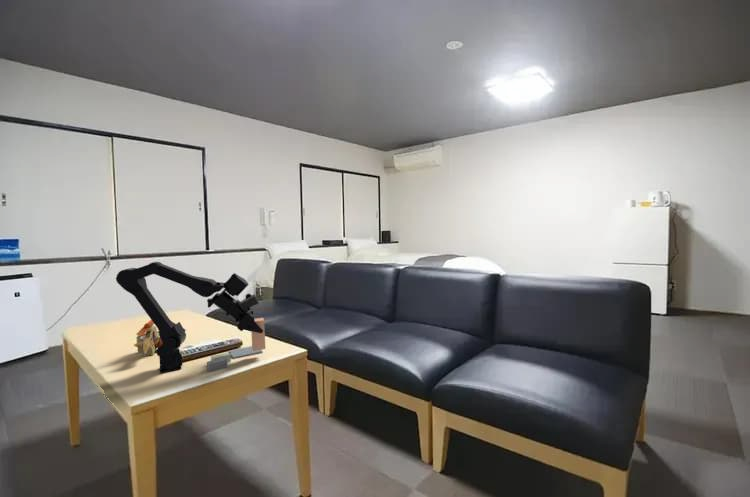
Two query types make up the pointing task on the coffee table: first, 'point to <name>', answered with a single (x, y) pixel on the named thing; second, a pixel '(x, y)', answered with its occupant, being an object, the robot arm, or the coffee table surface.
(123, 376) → the coffee table surface
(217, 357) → the sage brick
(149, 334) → the toy house
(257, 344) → the terracotta block
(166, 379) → the coffee table surface
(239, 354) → the slate pad
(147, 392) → the coffee table surface
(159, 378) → the coffee table surface
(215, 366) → the charcoal brick
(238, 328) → the robot arm
